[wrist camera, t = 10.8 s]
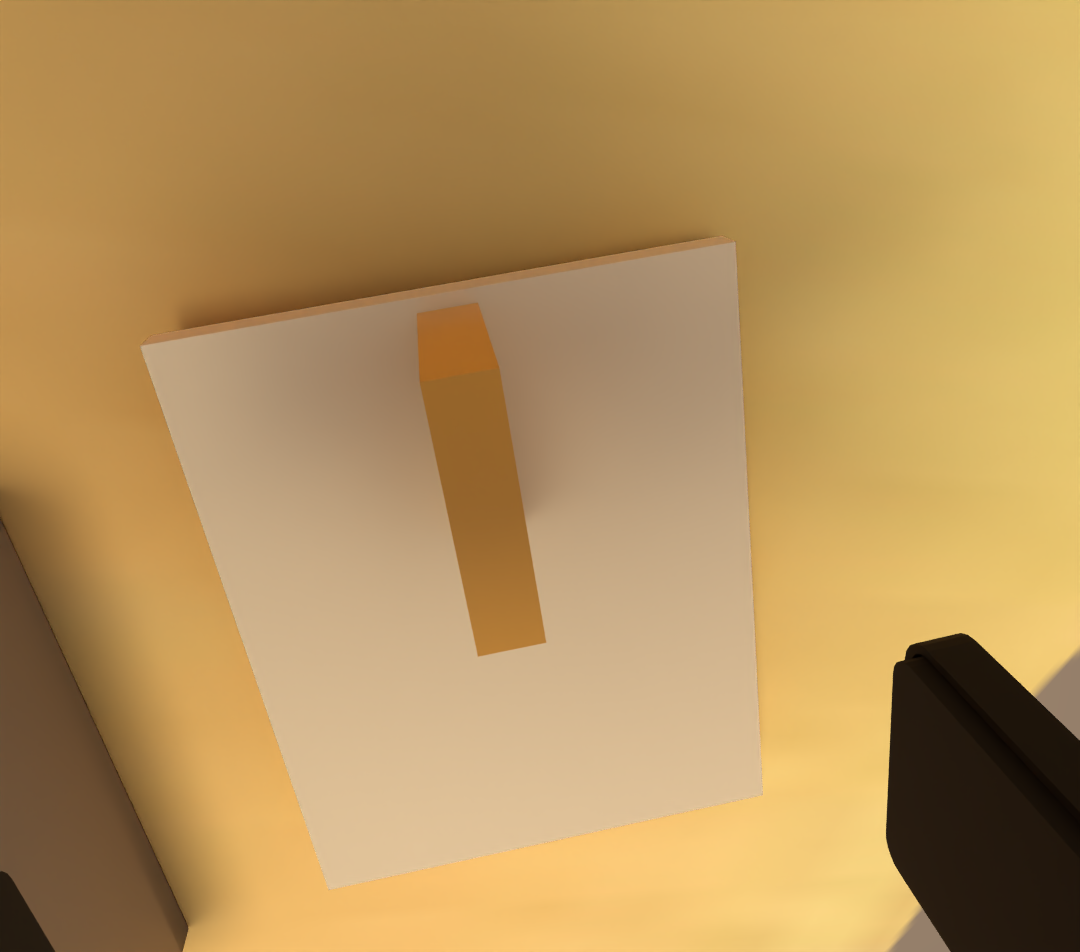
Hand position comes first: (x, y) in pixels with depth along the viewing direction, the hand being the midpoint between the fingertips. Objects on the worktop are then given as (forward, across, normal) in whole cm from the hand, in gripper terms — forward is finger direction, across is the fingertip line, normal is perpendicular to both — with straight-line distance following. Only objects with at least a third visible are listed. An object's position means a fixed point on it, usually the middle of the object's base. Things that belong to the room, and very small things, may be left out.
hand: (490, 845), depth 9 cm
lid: (+12, -1, +4) cm, 12 cm away
